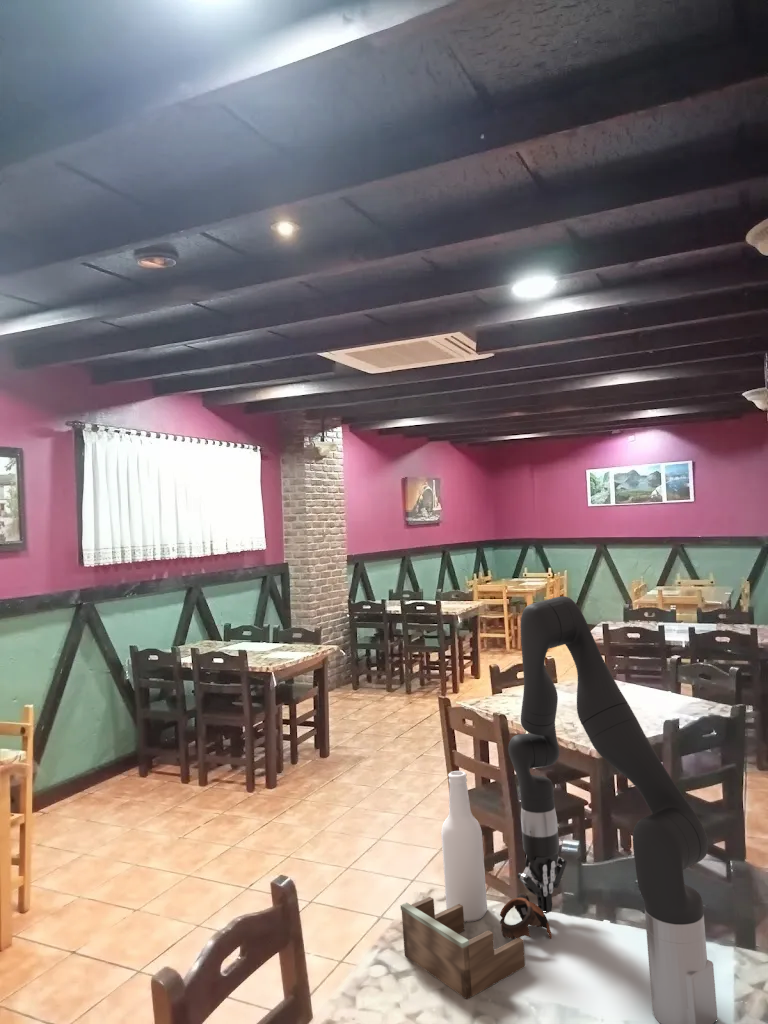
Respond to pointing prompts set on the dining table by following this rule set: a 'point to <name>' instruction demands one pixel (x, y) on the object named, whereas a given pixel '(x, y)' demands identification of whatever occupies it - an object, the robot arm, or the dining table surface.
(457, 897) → the alcohol
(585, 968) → the dining table surface
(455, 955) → the brown stepped open box
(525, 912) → the pottery mug
